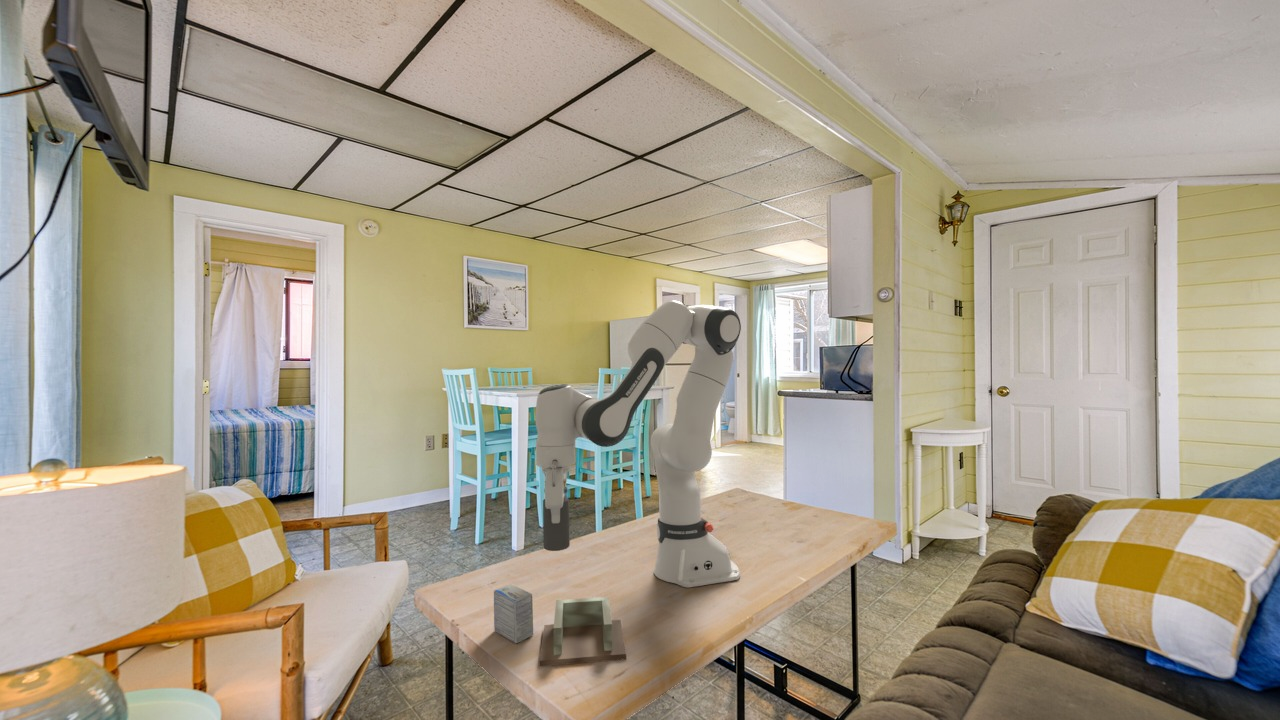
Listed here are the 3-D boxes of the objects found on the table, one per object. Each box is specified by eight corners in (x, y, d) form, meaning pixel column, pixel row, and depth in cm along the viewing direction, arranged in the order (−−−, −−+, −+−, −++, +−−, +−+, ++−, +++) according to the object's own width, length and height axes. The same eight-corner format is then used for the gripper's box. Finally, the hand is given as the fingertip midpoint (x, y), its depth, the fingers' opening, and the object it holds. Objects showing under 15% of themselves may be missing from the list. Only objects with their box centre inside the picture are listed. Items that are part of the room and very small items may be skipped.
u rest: (620, 624, 108) (620, 595, 108) (626, 659, 95) (625, 627, 95) (544, 629, 106) (544, 601, 106) (539, 666, 93) (539, 633, 93)
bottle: (564, 552, 110) (563, 483, 111) (539, 550, 112) (538, 482, 112) (573, 542, 116) (572, 477, 116) (549, 541, 117) (548, 476, 118)
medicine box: (533, 635, 103) (533, 593, 103) (515, 645, 100) (515, 601, 100) (511, 623, 109) (511, 582, 109) (493, 631, 105) (493, 589, 105)
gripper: (568, 464, 104) (569, 532, 104) (571, 448, 124) (571, 505, 124) (537, 466, 103) (538, 533, 103) (545, 449, 124) (545, 506, 124)
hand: (556, 517), depth 114 cm, fingers closed on bottle, 5 cm apart
